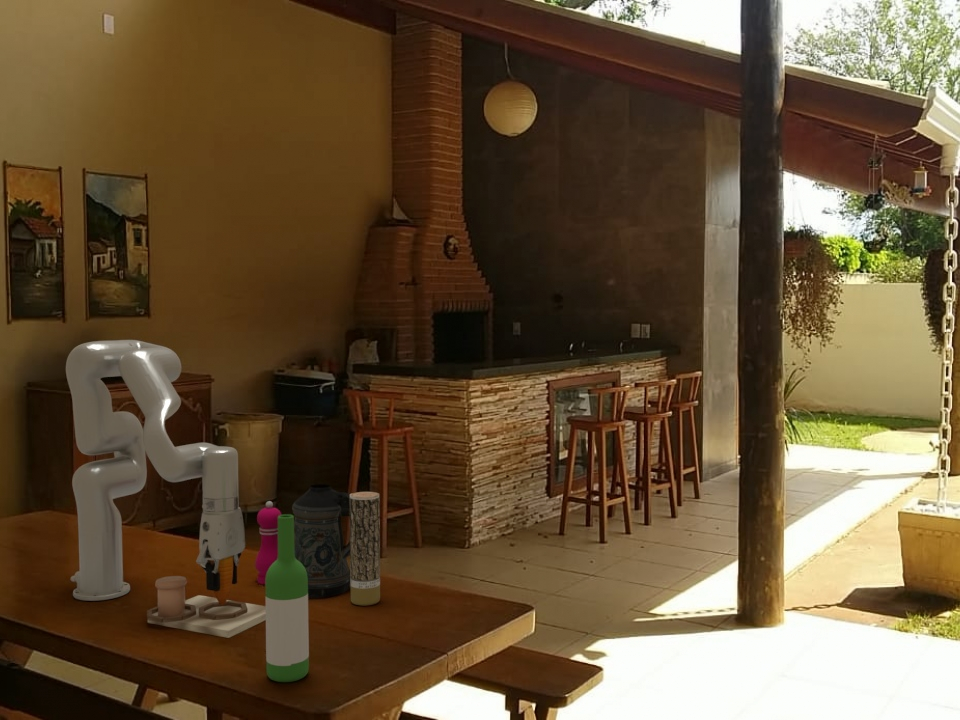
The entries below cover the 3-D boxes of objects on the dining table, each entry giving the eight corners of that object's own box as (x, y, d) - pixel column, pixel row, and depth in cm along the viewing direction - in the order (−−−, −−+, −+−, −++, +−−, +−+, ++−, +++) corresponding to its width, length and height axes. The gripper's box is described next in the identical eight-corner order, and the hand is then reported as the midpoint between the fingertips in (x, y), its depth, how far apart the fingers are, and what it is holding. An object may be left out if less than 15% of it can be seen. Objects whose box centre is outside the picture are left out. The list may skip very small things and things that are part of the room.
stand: (137, 624, 204) (136, 614, 204) (195, 600, 220) (195, 591, 220) (222, 641, 194) (221, 630, 194) (276, 614, 211) (276, 604, 211)
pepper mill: (288, 577, 239) (287, 498, 238) (280, 585, 232) (279, 504, 231) (260, 576, 240) (259, 497, 239) (251, 585, 233) (250, 504, 232)
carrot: (213, 610, 205) (212, 541, 204) (208, 604, 209) (207, 536, 208) (236, 607, 207) (235, 539, 206) (231, 600, 211) (230, 534, 210)
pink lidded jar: (149, 616, 205) (148, 582, 205) (170, 607, 211) (170, 574, 210) (172, 620, 202) (171, 586, 202) (193, 611, 208) (192, 578, 208)
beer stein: (276, 583, 234) (274, 482, 233) (353, 574, 242) (352, 476, 240) (290, 602, 219) (289, 495, 218) (372, 592, 227) (371, 488, 225)
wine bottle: (316, 677, 176) (314, 516, 174) (276, 687, 171) (274, 522, 169) (298, 664, 182) (296, 509, 180) (259, 673, 178) (257, 514, 176)
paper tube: (385, 599, 221) (385, 493, 220) (370, 608, 215) (369, 498, 214) (360, 595, 224) (359, 490, 223) (344, 604, 218) (343, 496, 216)
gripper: (207, 513, 197) (208, 600, 199) (259, 498, 213) (260, 578, 214) (179, 510, 201) (181, 595, 202) (232, 495, 216) (233, 574, 217)
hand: (221, 585), depth 208 cm, fingers closed on carrot, 4 cm apart
